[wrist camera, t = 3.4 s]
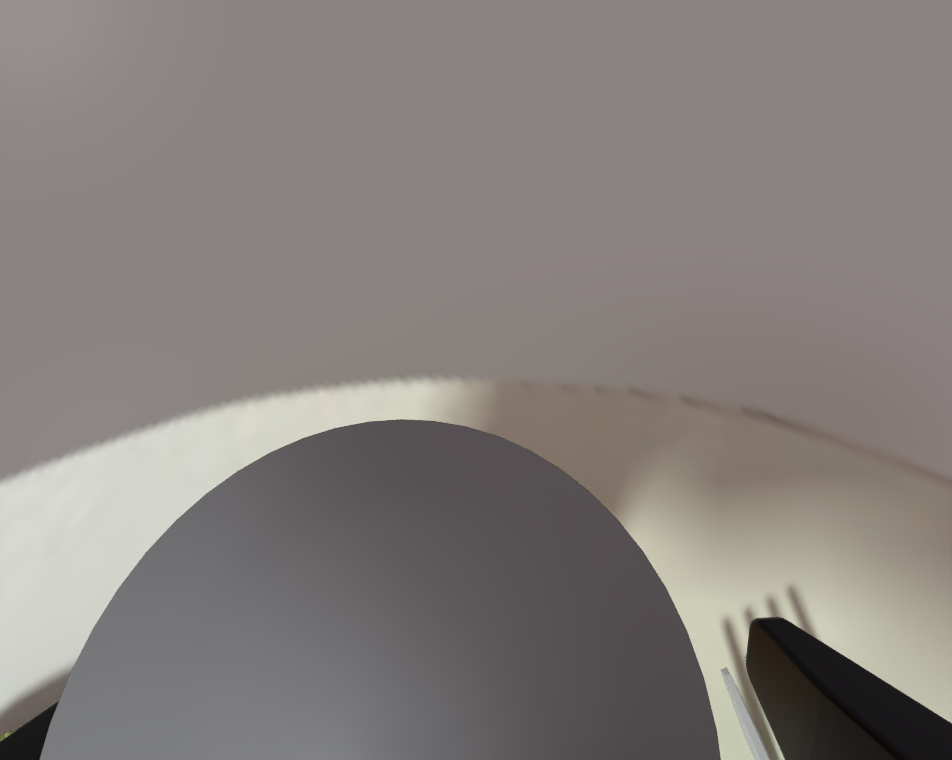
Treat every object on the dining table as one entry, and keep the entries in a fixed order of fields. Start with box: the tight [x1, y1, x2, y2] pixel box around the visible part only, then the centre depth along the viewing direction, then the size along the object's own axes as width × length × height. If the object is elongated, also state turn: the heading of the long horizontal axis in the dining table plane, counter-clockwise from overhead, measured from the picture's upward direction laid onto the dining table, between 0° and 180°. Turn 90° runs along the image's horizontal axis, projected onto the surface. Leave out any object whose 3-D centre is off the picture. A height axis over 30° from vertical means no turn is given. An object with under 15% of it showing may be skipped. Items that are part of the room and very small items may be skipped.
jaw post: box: [40, 419, 721, 760], centre depth 8 cm, size 4×4×13 cm
